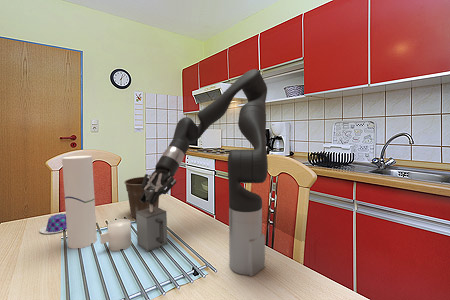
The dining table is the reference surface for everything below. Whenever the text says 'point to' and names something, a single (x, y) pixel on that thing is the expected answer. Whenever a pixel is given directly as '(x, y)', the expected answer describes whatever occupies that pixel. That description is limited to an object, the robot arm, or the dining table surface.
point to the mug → (117, 235)
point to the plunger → (147, 196)
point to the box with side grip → (151, 228)
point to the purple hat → (55, 224)
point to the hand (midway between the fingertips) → (146, 202)
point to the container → (79, 201)
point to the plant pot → (137, 195)
